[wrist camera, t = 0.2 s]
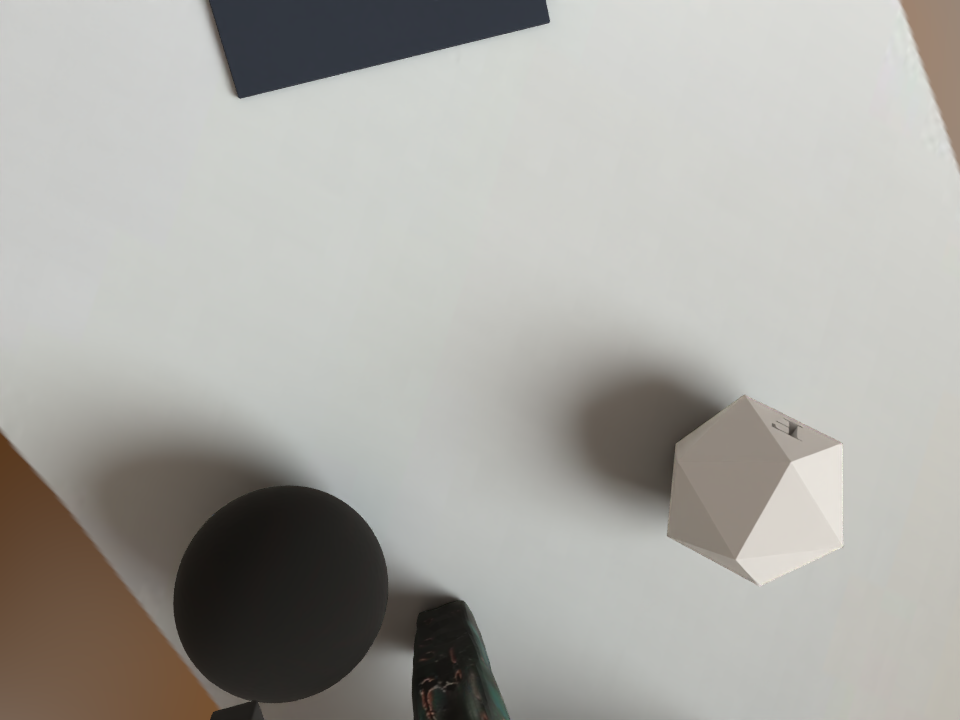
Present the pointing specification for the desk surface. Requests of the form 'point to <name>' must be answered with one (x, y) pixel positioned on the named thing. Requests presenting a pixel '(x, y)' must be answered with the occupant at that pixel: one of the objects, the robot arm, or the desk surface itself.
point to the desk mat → (351, 34)
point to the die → (757, 492)
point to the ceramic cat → (453, 668)
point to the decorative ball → (280, 594)
